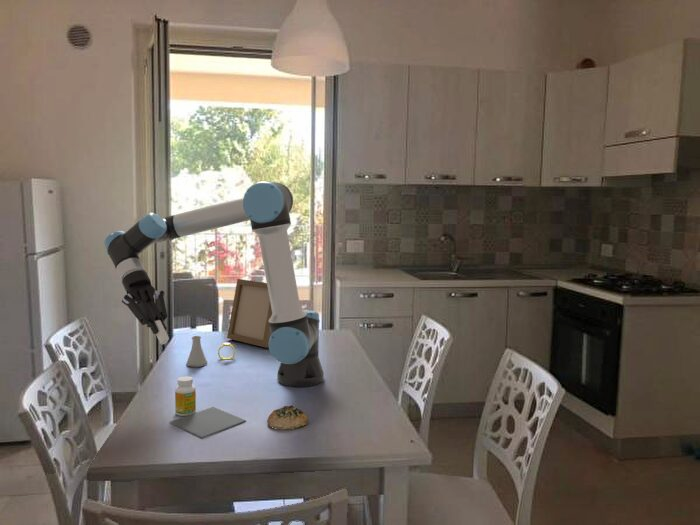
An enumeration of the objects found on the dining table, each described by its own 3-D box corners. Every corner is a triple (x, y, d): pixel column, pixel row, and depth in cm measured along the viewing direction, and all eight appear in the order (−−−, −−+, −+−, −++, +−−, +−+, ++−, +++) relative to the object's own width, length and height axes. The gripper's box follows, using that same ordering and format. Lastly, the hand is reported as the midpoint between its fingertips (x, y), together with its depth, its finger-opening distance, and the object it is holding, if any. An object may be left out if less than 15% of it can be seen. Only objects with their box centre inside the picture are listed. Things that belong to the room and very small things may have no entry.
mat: (169, 423, 149) (169, 421, 149) (213, 408, 160) (213, 406, 160) (202, 438, 140) (202, 437, 140) (245, 421, 151) (245, 420, 151)
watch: (234, 358, 208) (235, 342, 208) (234, 360, 206) (235, 344, 205) (217, 358, 207) (218, 342, 206) (217, 360, 204) (218, 344, 203)
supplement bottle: (184, 418, 152) (184, 383, 151) (171, 413, 155) (170, 379, 154) (199, 411, 157) (199, 377, 156) (186, 407, 160) (185, 374, 159)
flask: (201, 368, 195) (201, 340, 194) (182, 366, 196) (181, 338, 195) (210, 362, 202) (210, 335, 201) (192, 360, 203) (191, 333, 202)
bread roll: (283, 411, 159) (284, 394, 158) (315, 425, 153) (317, 408, 152) (257, 426, 149) (259, 409, 148) (291, 441, 144) (292, 424, 143)
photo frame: (265, 349, 219) (266, 286, 216) (226, 340, 231) (227, 280, 228) (290, 342, 231) (292, 282, 228) (252, 334, 243) (253, 276, 240)
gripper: (149, 282, 177) (179, 344, 168) (108, 286, 167) (139, 353, 158) (158, 267, 173) (190, 330, 164) (117, 270, 163) (149, 338, 154)
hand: (165, 341), depth 161 cm, fingers closed
